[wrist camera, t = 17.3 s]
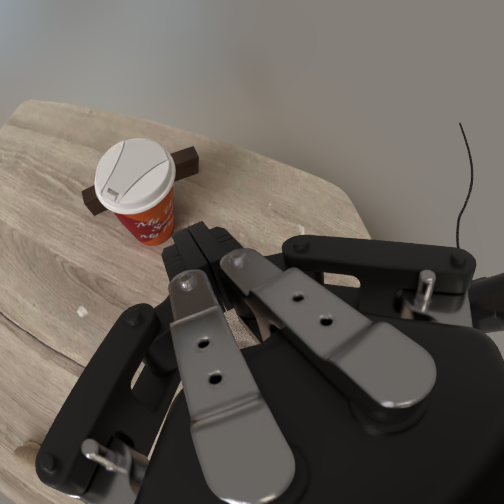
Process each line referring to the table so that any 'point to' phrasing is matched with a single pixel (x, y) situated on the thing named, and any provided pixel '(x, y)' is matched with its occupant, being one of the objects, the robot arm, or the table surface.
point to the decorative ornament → (27, 454)
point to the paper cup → (139, 188)
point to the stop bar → (184, 167)
